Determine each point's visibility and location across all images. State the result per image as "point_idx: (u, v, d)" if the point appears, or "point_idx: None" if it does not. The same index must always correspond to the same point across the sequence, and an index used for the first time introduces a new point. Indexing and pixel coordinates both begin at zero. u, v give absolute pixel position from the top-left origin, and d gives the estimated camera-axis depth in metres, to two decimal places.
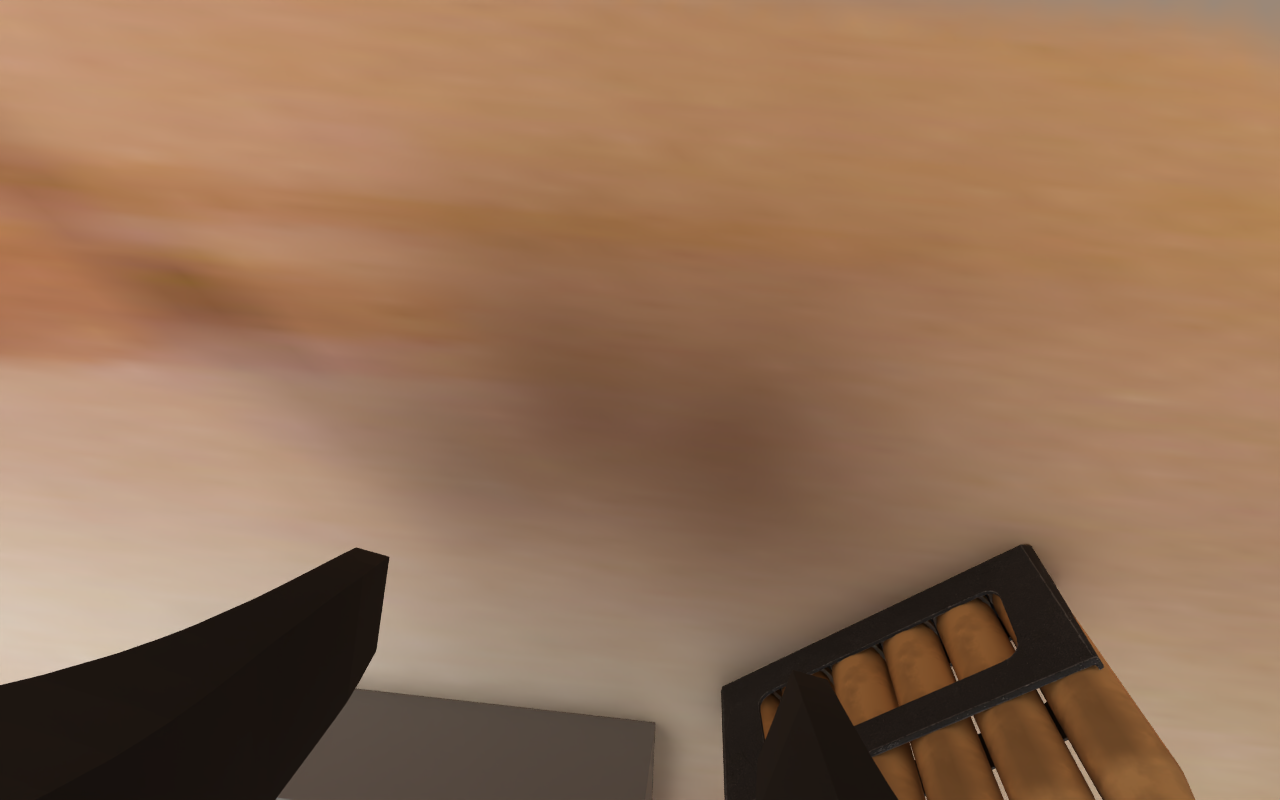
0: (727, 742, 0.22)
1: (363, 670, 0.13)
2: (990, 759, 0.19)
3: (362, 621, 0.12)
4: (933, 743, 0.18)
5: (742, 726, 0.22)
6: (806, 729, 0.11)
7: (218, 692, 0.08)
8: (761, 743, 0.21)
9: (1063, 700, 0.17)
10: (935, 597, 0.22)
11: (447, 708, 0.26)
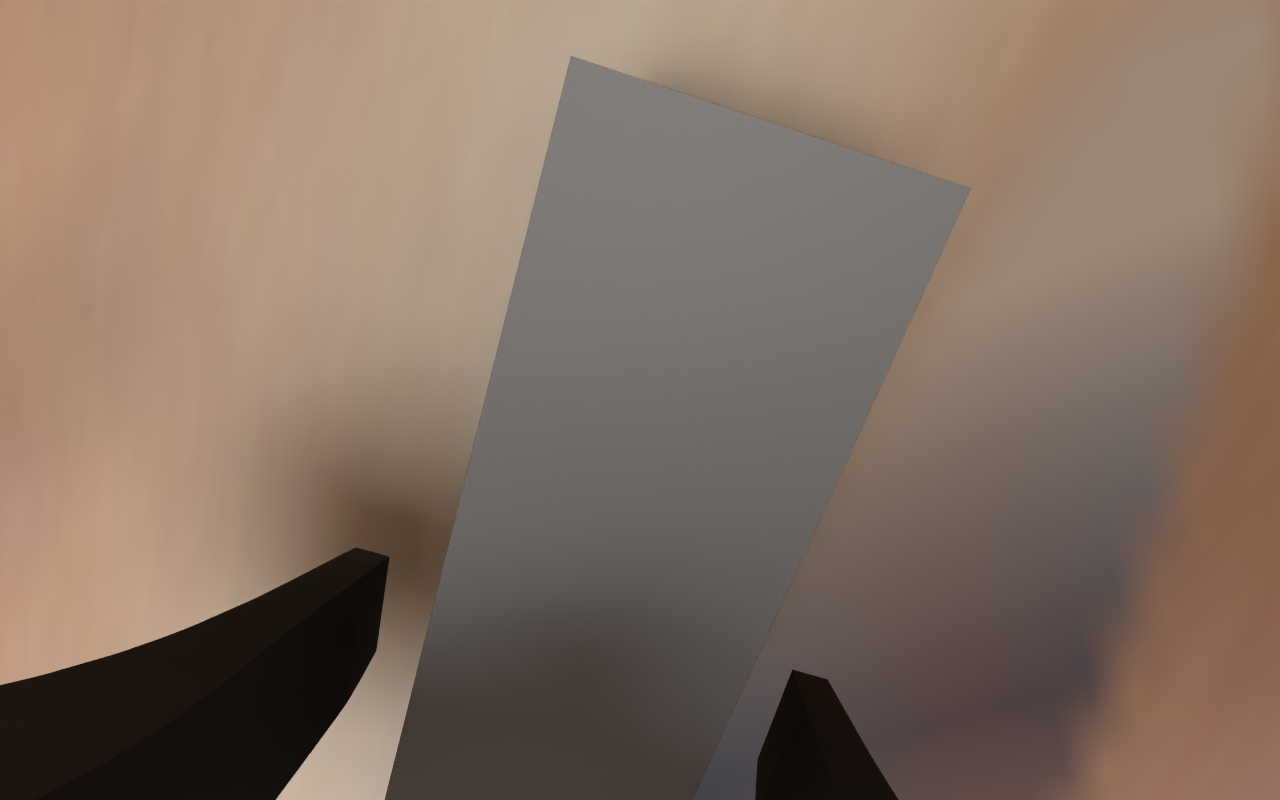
0: None
1: (363, 670, 0.13)
2: None
3: (362, 621, 0.12)
4: None
5: None
6: (806, 729, 0.11)
7: (218, 692, 0.08)
8: None
9: None
10: None
11: None
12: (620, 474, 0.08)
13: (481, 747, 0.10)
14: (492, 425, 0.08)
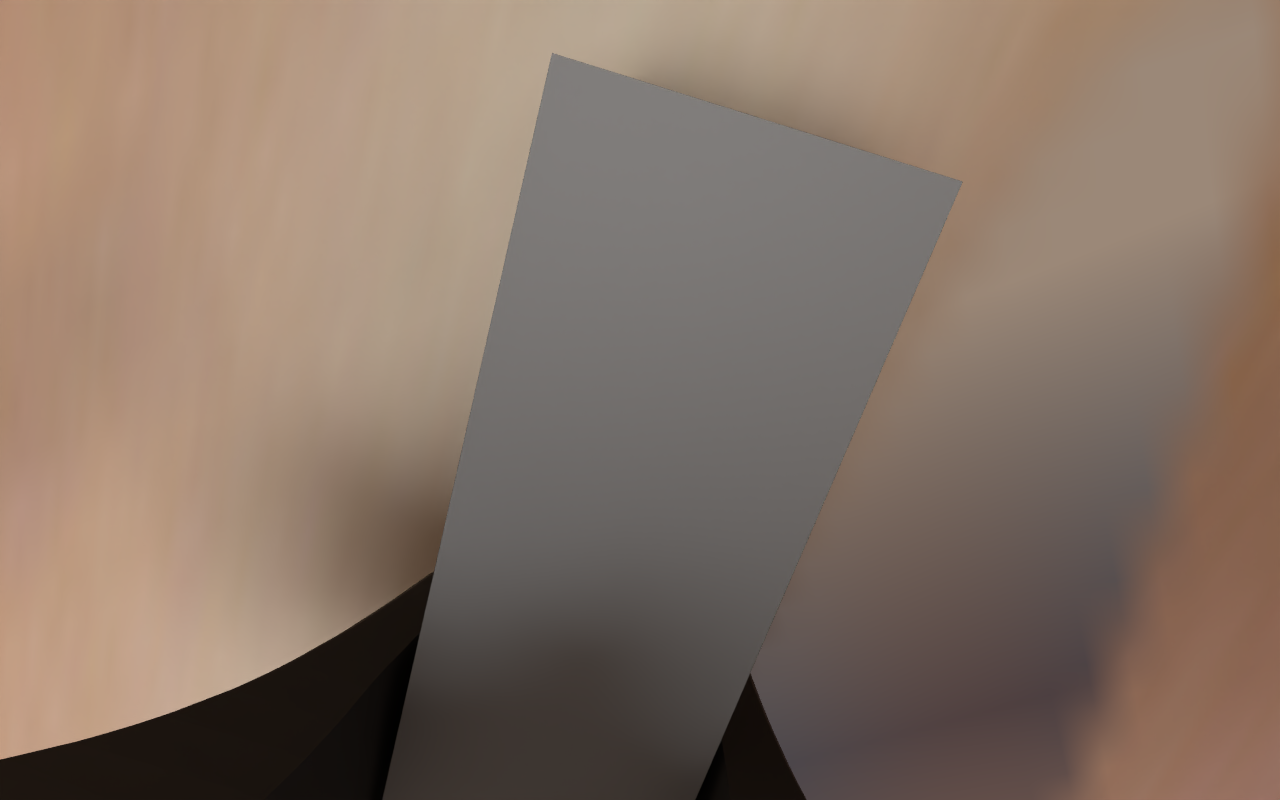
0: None
1: None
2: None
3: None
4: None
5: None
6: None
7: (338, 727, 0.08)
8: None
9: None
10: None
11: None
12: (611, 478, 0.08)
13: (476, 757, 0.10)
14: (480, 430, 0.08)
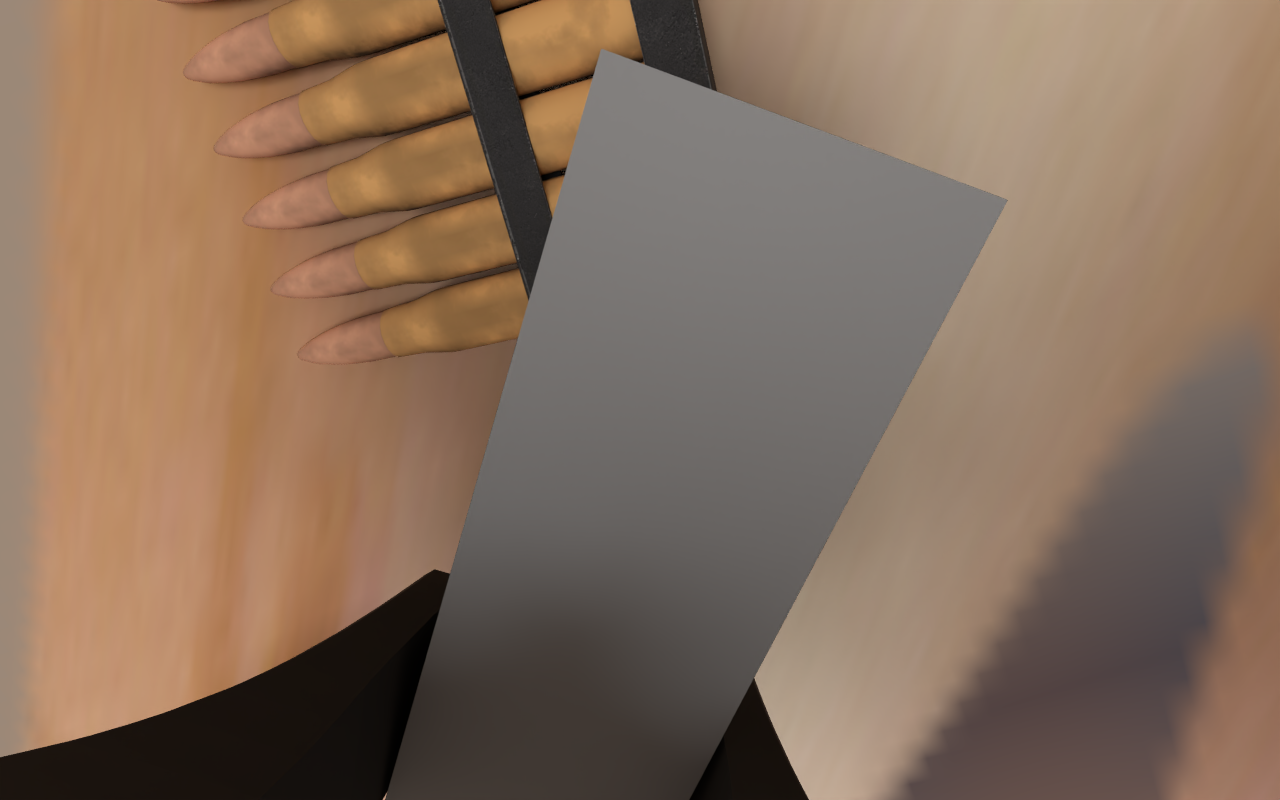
0: None
1: None
2: (455, 24, 0.16)
3: None
4: None
5: None
6: None
7: (335, 726, 0.08)
8: None
9: None
10: None
11: None
12: (635, 472, 0.08)
13: (488, 730, 0.10)
14: (509, 419, 0.08)
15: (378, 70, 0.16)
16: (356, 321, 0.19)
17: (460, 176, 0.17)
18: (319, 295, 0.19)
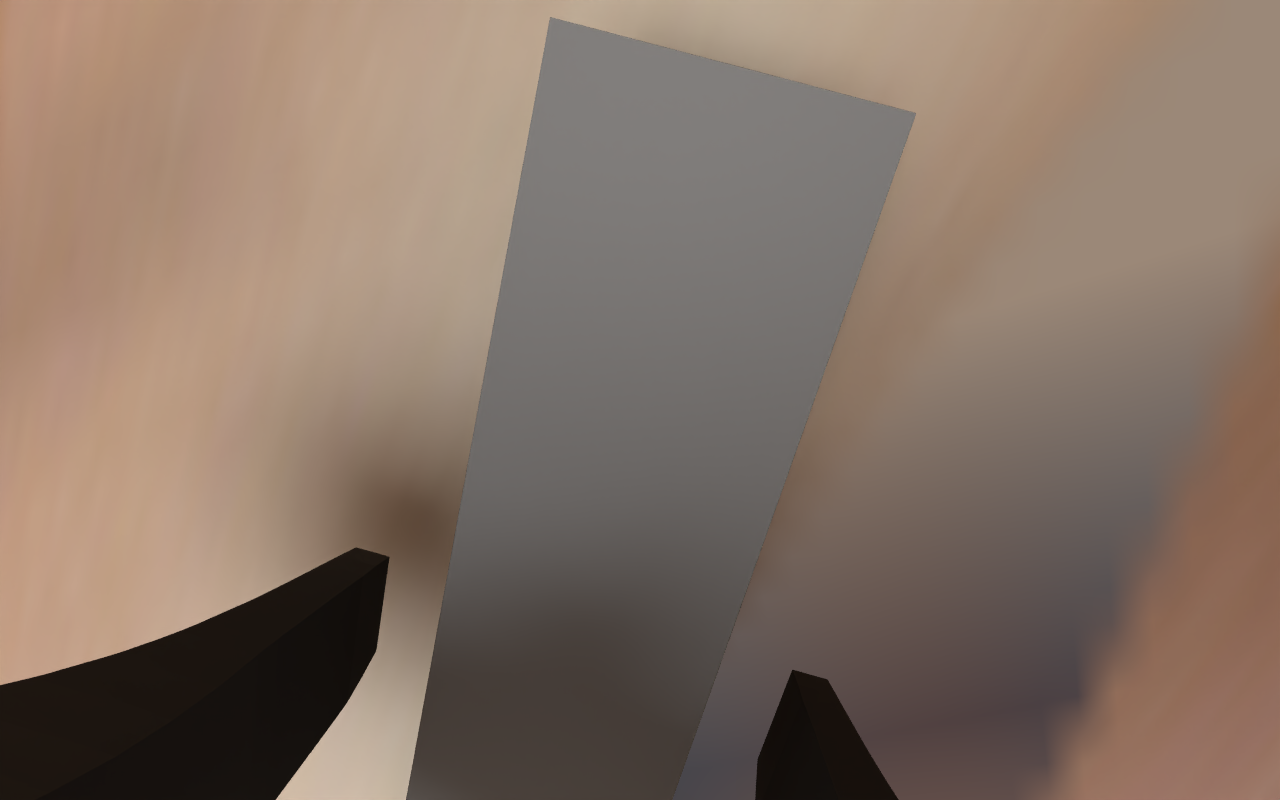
0: None
1: (363, 670, 0.13)
2: None
3: (362, 621, 0.12)
4: None
5: None
6: (806, 729, 0.11)
7: (218, 692, 0.08)
8: None
9: None
10: None
11: None
12: (616, 402, 0.09)
13: (504, 673, 0.11)
14: (498, 363, 0.09)
15: None
16: None
17: None
18: None
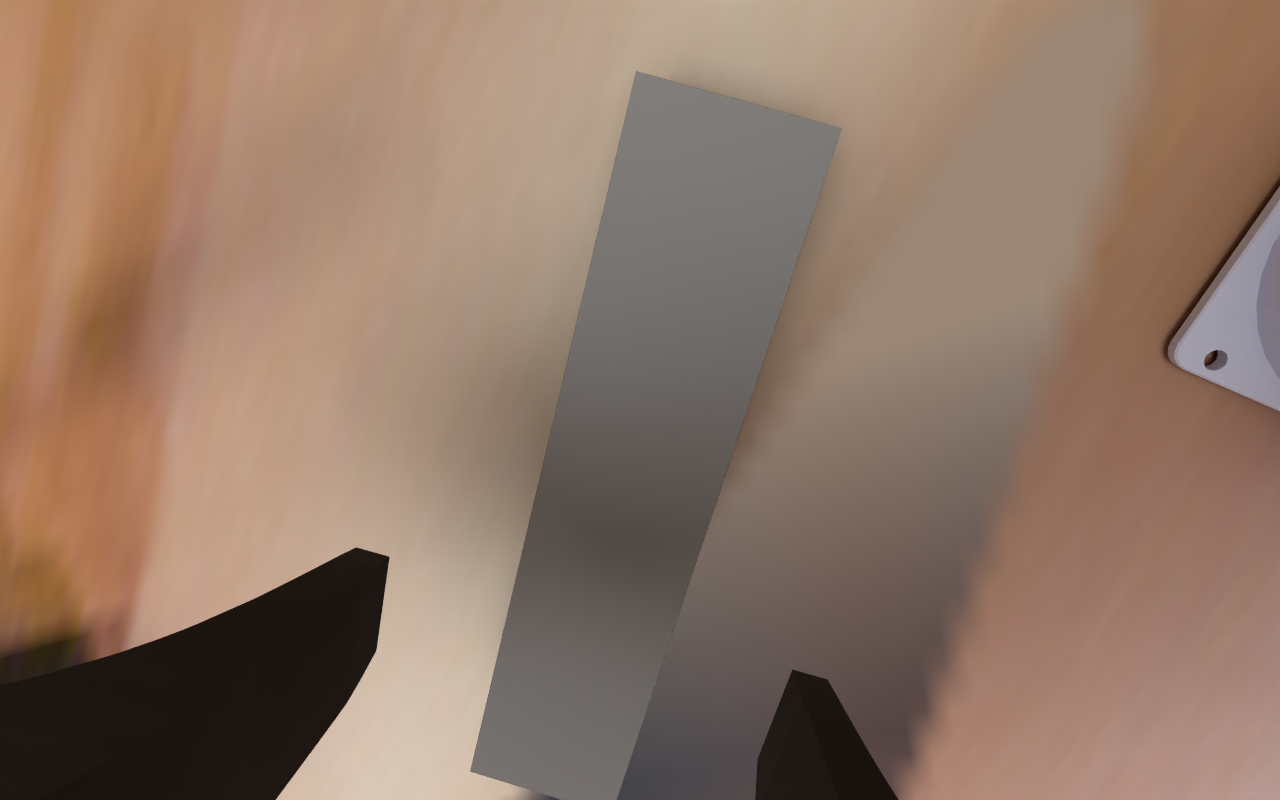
0: None
1: (363, 670, 0.13)
2: None
3: (362, 621, 0.12)
4: None
5: None
6: (807, 729, 0.11)
7: (218, 692, 0.08)
8: None
9: None
10: None
11: None
12: (666, 299, 0.15)
13: (588, 482, 0.17)
14: (595, 275, 0.15)
15: None
16: None
17: None
18: None
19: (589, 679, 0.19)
